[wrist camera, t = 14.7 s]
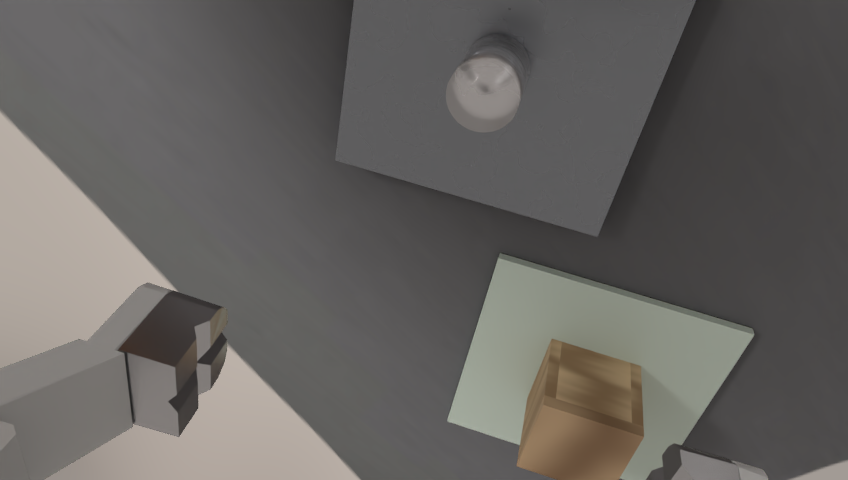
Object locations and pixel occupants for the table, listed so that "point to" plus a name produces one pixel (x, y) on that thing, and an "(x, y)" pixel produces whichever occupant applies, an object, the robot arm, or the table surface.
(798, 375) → the table surface
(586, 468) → the oak block
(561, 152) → the post mount
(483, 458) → the table surface
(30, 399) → the robot arm
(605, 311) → the sage mat
